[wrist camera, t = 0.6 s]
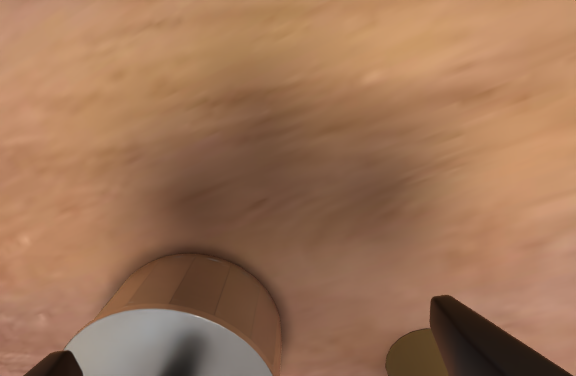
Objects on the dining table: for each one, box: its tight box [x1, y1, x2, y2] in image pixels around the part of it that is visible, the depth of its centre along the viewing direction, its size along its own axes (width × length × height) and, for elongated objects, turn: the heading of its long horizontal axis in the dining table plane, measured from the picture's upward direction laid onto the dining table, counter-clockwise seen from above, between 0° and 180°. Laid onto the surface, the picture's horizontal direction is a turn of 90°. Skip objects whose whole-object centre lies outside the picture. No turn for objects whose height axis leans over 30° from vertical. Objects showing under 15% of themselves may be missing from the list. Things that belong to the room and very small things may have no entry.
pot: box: [95, 253, 282, 376], centre depth 24 cm, size 12×12×6 cm
